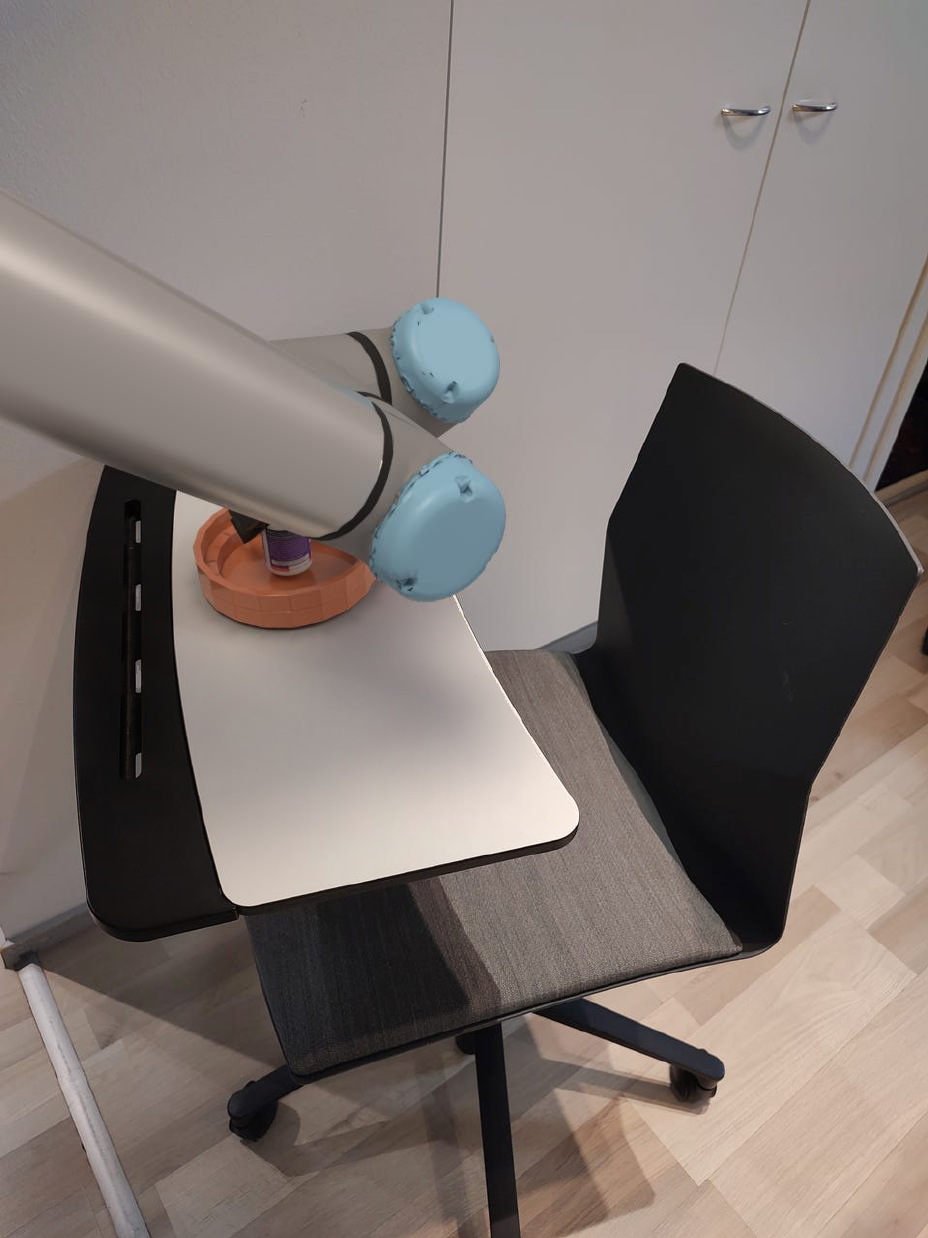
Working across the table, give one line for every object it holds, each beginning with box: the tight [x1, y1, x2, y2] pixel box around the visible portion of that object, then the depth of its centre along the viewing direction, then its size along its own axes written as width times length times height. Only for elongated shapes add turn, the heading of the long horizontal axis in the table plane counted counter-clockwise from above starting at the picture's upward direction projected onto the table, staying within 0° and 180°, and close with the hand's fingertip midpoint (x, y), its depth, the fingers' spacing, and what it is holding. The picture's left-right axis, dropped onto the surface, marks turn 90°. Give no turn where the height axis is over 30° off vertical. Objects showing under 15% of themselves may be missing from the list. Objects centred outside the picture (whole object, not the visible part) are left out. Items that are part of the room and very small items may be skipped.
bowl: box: [192, 507, 377, 628], centre depth 88 cm, size 17×17×4 cm
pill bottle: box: [261, 524, 312, 576], centre depth 85 cm, size 5×5×8 cm
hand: (263, 519), depth 88 cm, fingers closed on pill bottle, 5 cm apart
